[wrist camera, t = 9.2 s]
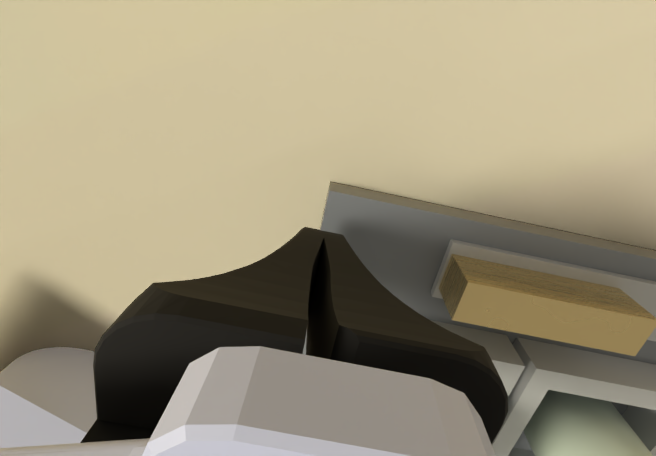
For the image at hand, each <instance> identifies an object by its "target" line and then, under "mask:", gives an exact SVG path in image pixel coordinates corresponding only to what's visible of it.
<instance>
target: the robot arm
mask: <svg viewBox="0 0 656 456" xmlns="http://www.w3.org/2000/svg"><path fill="white" fill-rule="evenodd" d="M306 331H307V338H306ZM305 338H306V355H304V354H302V353H303V349H304V344H305ZM93 371H94V385H95V399H96V412H97V420H96V421H95V422H94V424H93V425H92V427H91V428H90V430H89V431H88V432H87V434H86V435H85V437H84V438H83V440H82V441H81V442H80V443H72V444H57V445H42V446H27V447H12V448H0V456H496V455H495V453H494V450H493V447H492V443H493V441H494V439H495V438H496V436H497V434H498V432H499V431H500V429H501V427H502V425H503V423H504V421H505V418H506V415H507V413H508V395H507V392H506V390H505V387H504V384H503V382H502V380H501V378H500V376H499V374H498V372H497V370H496V368H495V366H494V364H493V362H492V360H491V358H490V356H489V354H488V352H487V351H486V349H485V347H483V346H481V345H479V344H477V343H474V342H472V341H470V340H468V339H466V338H464V337H461V336H459V335H457V334H455V333H453V332H450V331H448V330H447V329H445V328H443V327H441V326H439V325H438V324H436V323H434V322H432V321H430V320H429V319H427V318H425V317H424V316H422V315H421V314H419V313H417V312H416V311H415V310H413V309H412V308H410V307H409V306H408V305H406V304H405V303H403V302H402V301H401V300H399V299H398V298H397V297H396V296H394V295H393V294H392V293H391V292H390V291H389V290H388V289H386V288H385V287H384V286H383V285H382V284H381V283H380V282H379V281H378V280H377V279H376V278H375V277H374V276H373V275H372V274H371V272H370V271H369V270H368V269H367V268H366V267H365V266H364V264H363V263H362V262H361V260H360V259H359V258H358V256H357V255H356V254H355V252H354V251H353V249H352V248H351V246H350V245H349V243H348V242H347V240H346V239H345V237H344V236H343V235H342V234H337V233H332V232H327V231H322V230H317V229H312V228H307V227H304V228H303V229H301V230H300V231H299V232H298V233H297V234H296V235H295V236H294V237H293V238H292V239H291V240H290V241H288V242H287V243H286V244H284V245H283V246H282V247H281V248H279V249H278V250H276V251H275V252H273V253H272V254H270V255H268V256H267V257H265V258H264V259H262V260H260V261H257V262H255V263H253V264H251V265H248V266H246V267H243V268H239V269H236V270H233V271H230V272H227V273H224V274H220V275H215V276H211V277H205V278H200V279H193V280H185V281H174V282H162V283H153V284H152V285H151V286H149V287H148V288H147V289H146V290H145V291H144V292H143V293H142V294H140V295H139V296H138V297H137V298H136V299H135V300H134V301H133V302H132V303H131V304H130V305H129V306H128V307H127V308H126V310H125V311H124V312H123V313H122V314H121V315H120V316H119V317H118V319H117V320H116V321H115V322H114V323H113V324H112V325H111V326H110V327H109V329H108V330H107V331H106V332H105V333H104V334H103V335H102V337H101V339H100V341H99V343H98V345H97V346H96V348H95V352H94V362H93Z"/></svg>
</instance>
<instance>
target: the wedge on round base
mask: <svg viewBox="0 0 656 456" xmlns="http://www.w3.org/2000/svg"><path fill="white" fill-rule="evenodd" d="M94 352H95V351H90V350H86V349H80V348H71V347H52V348H43V349H39V350H35V351H31V352H29V353H26V354H24V355H22V356H20V357H18V358H17V359H15V360H14V361H13V362H11V363H10V364H9V365H8V366H7V367H6V368H5V369H4V370H2V371H1V372H0V448H12V447H27V446H42V445H57V444H72V443H80V442H81V441H82V440H83V438H84V437H85V435H86V434H87V432H88V431H89V430H90V428H91V427H92V425H93V424H94V422H95V421H96V420H97V412H96V399H95V385H94V371H93V362H94Z"/></svg>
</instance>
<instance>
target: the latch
mask: <svg viewBox="0 0 656 456" xmlns="http://www.w3.org/2000/svg"><path fill="white" fill-rule="evenodd" d="M439 290H440V293H441V295H442V297H443V300H444V302H445V305H446V307H447V309H448V312H449V314H450V317H451V319H452V320H454V321H459V322H464V323H469V324H474V325H479V326H484V327H489V328H494V329H499V330H505V331H510V332H515V333H520V334H525V335H530V336H535V337H540V338H545V339H550V340H555V341H560V342H565V343H570V344H575V345H580V346H585V347H590V348H596V349H601V350H606V351H611V352H616V353H621V354H626V355H631V356H636V354H637V353H638V352H639V350H640V349H641V347H642V346H643V345H644V343H645V342H646V340H647V339H648V337H649V336H650V335H651V333H652V332H653V330H654V329H655V328H656V318H655V317H654V316H653V315H652V314H651V313H649V312H648V311H647V310H646V309H644V308H643V307H642V306H641V305H639V304H638V303H637V302H636V301H635V300H633V299H632V298H631V297H630V296H628V295H627V294H626V293H625V292H623V291H622V290H621V289H620V288H616V287H611V286H606V285H601V284H596V283H591V282H587V281H582V280H577V279H572V278H567V277H562V276H557V275H553V274H548V273H543V272H538V271H533V270H528V269H523V268H518V267H514V266H509V265H504V264H499V263H494V262H489V261H484V260H480V259H475V258H470V257H465V256H460V255H455V254H452V255H451V257H450V260H449V262H448V265H447V268H446V270H445V273H444V275H443V278H442V280H441V283H440V286H439Z"/></svg>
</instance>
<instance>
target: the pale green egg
mask: <svg viewBox="0 0 656 456" xmlns="http://www.w3.org/2000/svg"><path fill="white" fill-rule="evenodd" d="M523 432H524V434H525V436H526V438H527V440H528V442H529V444H530V446H531V449H532V451H533V453H534V455H535V456H653V455H652V453H651V452H650V451H649V450H648V448H647V447H646V446H645V445H644V443H643V442H642V441H641V439H640V438H639V437H638V436H637V434H636V433H635V432H634V431H633V429H632V428H631V427H630V426H629V424H628V423H627V422H626V420H625V419H624V418H623V417H622V415H621V414H620V413H619V412H618V410H617V409H616V408H615V407H614V405H613V404H612V403H611V402H610V401H605V400H600V399H595V398H590V397H585V396H579V395H574V394H569V393H564V392H558V391H553V390H548V391H547V393H546V394H545V396H544V398H543V399H542V401H541V403H540V404H539V406H538V407H537V409H536V411H535V412H534V414H533V416H532V417H531V419H530V421H529V422H528V424H527V425H526V427H525V429H524V430H523Z"/></svg>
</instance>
